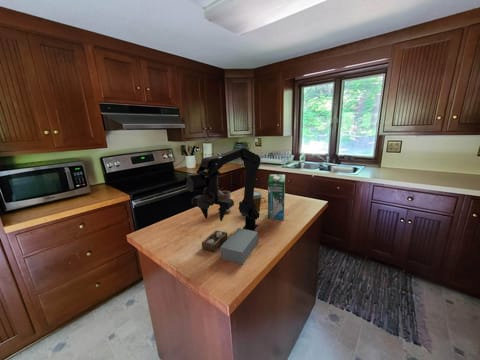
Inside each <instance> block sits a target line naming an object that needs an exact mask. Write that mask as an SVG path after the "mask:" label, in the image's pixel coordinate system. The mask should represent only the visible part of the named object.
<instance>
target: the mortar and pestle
mask: <svg viewBox="0 0 480 360" xmlns="http://www.w3.org/2000/svg"><path fill="white" fill-rule="evenodd" d="M218 194H219V196H220V199H219V200H220V201H222V200H224V199H225V198H226V199H231V198H232V197H231V191H230V190H221V189H220V190H218ZM231 210H232V209H231V208H230V209H228V210H226V212H225V214H224V215H226V214H230V213H231V212H232V211H231ZM218 212H219V214H220V211H219V210H218Z"/></svg>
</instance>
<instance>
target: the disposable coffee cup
mask: <svg viewBox="0 0 480 360" xmlns="http://www.w3.org/2000/svg"><path fill="white" fill-rule="evenodd" d="M262 197H263V194H262V192H261V191H257V190H254V196H253V200H254V203H255V205H256V211H257V212H258V213H260V209H261V203H262Z"/></svg>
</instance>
